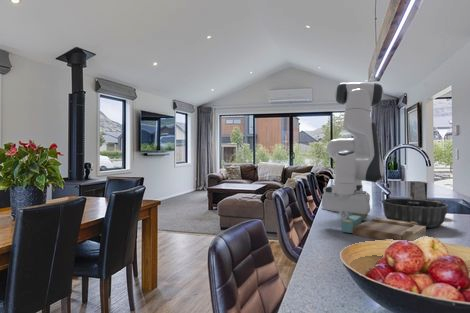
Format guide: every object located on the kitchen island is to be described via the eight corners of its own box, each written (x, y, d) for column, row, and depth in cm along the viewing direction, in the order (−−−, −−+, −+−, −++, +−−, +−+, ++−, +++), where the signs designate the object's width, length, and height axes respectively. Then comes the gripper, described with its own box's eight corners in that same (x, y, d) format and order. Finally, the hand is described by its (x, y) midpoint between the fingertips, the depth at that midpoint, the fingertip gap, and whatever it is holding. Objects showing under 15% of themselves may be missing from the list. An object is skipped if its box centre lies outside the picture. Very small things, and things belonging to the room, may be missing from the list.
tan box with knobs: (352, 234, 135) (352, 223, 135) (372, 226, 150) (372, 215, 150) (413, 245, 120) (413, 232, 120) (428, 234, 135) (428, 223, 135)
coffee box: (427, 214, 178) (427, 182, 178) (413, 213, 179) (414, 182, 179) (421, 211, 187) (421, 181, 187) (408, 210, 188) (408, 181, 188)
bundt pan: (412, 217, 171) (413, 196, 171) (463, 228, 146) (463, 205, 146) (368, 220, 162) (369, 199, 162) (414, 233, 137) (415, 208, 137)
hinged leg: (352, 233, 135) (352, 221, 135) (341, 232, 137) (341, 220, 137) (362, 224, 150) (362, 214, 150) (352, 223, 153) (352, 213, 152)
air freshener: (347, 221, 159) (347, 200, 158) (340, 218, 167) (340, 197, 167) (370, 221, 159) (370, 200, 159) (362, 218, 167) (362, 197, 167)
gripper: (372, 190, 140) (372, 224, 141) (327, 186, 154) (326, 217, 155) (366, 192, 136) (366, 227, 136) (319, 187, 150) (319, 219, 150)
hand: (344, 221), depth 146 cm, fingers closed
